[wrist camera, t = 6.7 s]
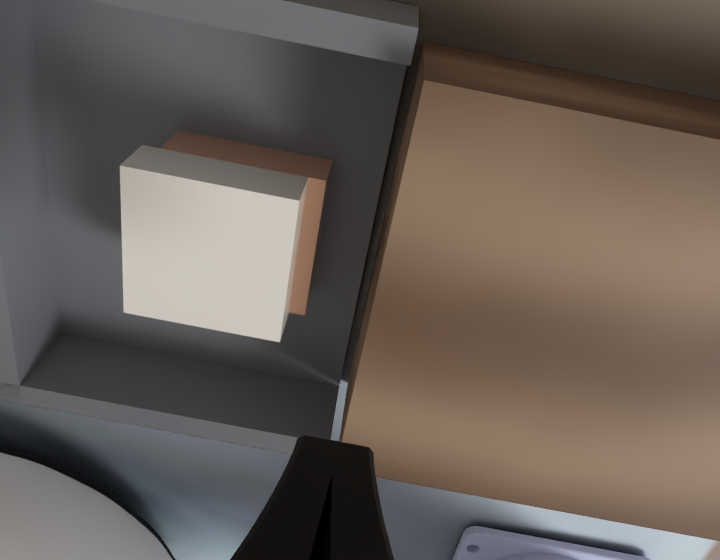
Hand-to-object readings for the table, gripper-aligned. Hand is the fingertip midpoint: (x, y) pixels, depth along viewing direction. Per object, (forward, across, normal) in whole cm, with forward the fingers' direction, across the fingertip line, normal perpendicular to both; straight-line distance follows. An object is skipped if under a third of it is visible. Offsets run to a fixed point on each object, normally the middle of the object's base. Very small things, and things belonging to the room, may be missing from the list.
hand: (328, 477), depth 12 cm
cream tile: (+6, +4, 0) cm, 7 cm away
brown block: (+9, -7, 0) cm, 12 cm away
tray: (+9, +5, 0) cm, 11 cm away
